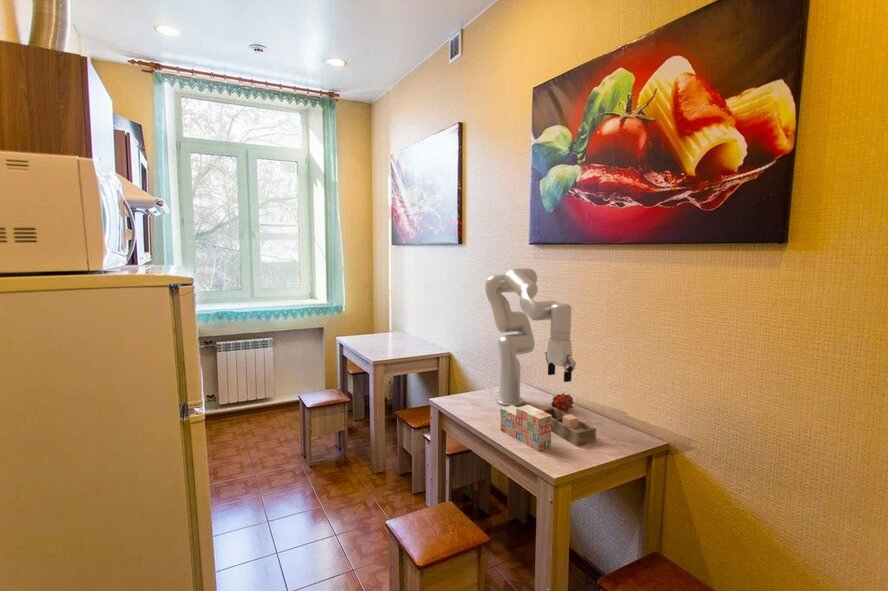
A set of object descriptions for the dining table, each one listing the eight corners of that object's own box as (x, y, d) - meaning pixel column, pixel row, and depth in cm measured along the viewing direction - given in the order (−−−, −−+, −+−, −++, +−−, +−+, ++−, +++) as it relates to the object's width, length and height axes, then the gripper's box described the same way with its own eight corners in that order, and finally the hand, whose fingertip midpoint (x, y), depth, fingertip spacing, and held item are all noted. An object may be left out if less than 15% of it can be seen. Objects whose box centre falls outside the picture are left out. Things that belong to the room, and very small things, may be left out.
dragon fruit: (573, 412, 195) (554, 421, 189) (561, 397, 200) (542, 405, 194) (581, 401, 189) (562, 410, 183) (568, 386, 194) (549, 394, 188)
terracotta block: (562, 426, 168) (562, 416, 168) (570, 424, 170) (570, 414, 170) (569, 429, 165) (569, 419, 164) (577, 428, 166) (577, 417, 166)
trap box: (536, 422, 179) (536, 410, 179) (553, 418, 183) (553, 407, 182) (576, 446, 158) (577, 433, 157) (595, 441, 161) (596, 428, 161)
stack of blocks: (500, 430, 172) (500, 400, 171) (512, 427, 175) (512, 397, 174) (538, 451, 154) (539, 418, 153) (551, 447, 157) (552, 414, 156)
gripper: (539, 332, 176) (538, 373, 178) (567, 340, 160) (566, 385, 162) (554, 330, 179) (552, 371, 181) (583, 338, 163) (582, 383, 165)
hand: (559, 378), depth 172 cm, fingers open, 9 cm apart
